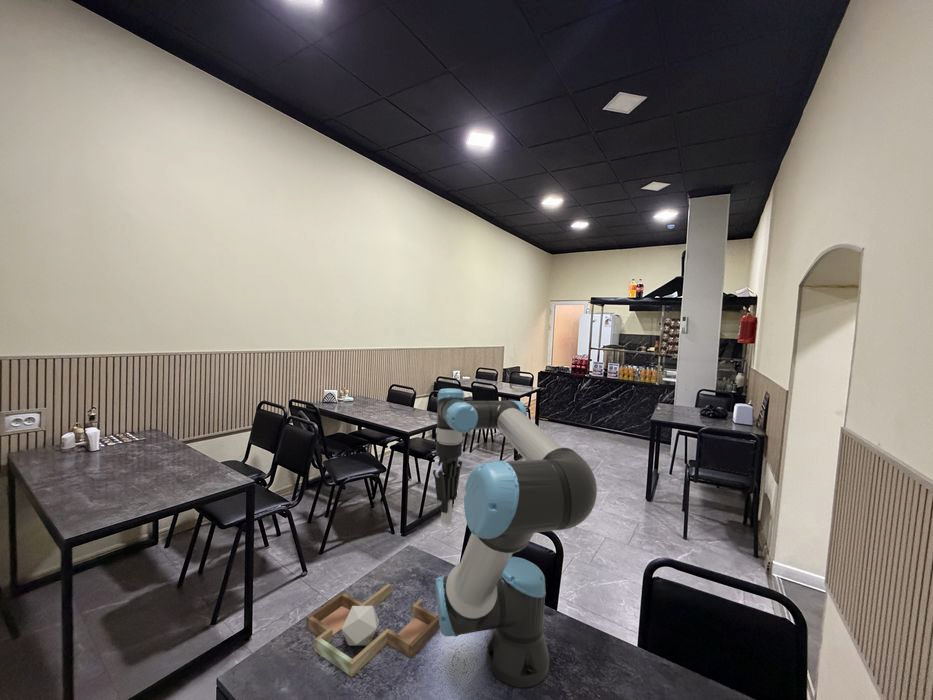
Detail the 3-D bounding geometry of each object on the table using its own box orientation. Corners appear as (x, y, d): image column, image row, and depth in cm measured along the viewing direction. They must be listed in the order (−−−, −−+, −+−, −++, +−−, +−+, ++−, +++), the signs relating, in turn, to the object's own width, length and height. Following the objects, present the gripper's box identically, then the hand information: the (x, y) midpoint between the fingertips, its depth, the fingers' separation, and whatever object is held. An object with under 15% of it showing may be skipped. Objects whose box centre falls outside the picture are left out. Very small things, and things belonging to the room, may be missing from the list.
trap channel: (445, 622, 105) (446, 611, 105) (377, 695, 83) (378, 681, 83) (369, 583, 120) (369, 573, 120) (294, 636, 98) (294, 625, 98)
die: (359, 664, 91) (385, 622, 94) (329, 641, 92) (355, 600, 96) (366, 649, 99) (389, 611, 103) (338, 628, 100) (361, 590, 104)
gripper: (449, 435, 120) (446, 510, 120) (425, 444, 108) (422, 527, 108) (470, 439, 116) (468, 516, 116) (448, 448, 104) (445, 534, 105)
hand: (446, 521), depth 112 cm, fingers closed
